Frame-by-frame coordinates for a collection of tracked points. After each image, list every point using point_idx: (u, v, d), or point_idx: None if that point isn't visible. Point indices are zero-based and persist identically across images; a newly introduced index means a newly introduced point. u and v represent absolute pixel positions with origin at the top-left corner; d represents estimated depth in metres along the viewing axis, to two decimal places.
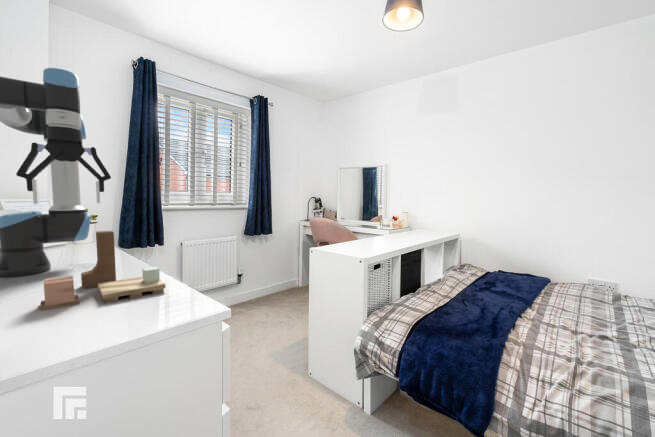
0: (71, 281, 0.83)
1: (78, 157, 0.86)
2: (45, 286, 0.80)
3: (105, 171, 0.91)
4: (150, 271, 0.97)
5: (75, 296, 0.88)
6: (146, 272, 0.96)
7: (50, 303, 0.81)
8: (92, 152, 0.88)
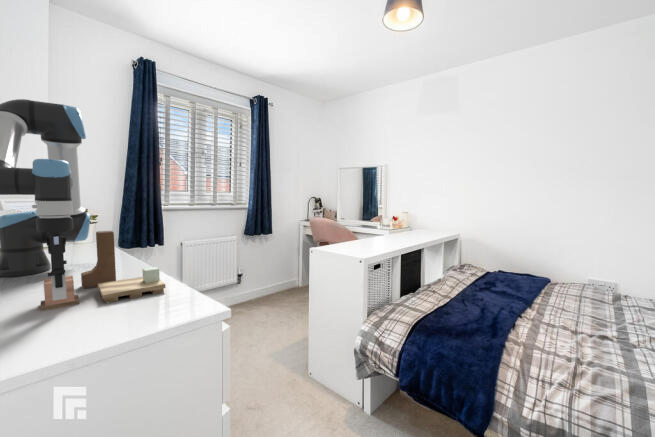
0: (71, 281, 0.83)
1: (48, 248, 0.80)
2: (45, 286, 0.80)
3: (51, 265, 0.76)
4: (150, 271, 0.97)
5: (75, 296, 0.88)
6: (146, 272, 0.96)
7: (50, 303, 0.81)
8: (50, 243, 0.78)
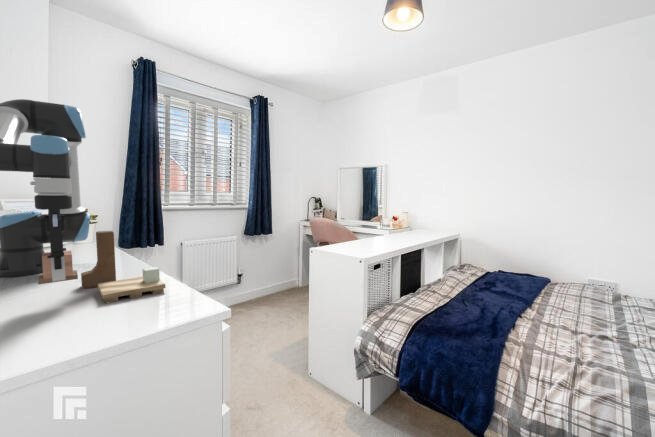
0: (69, 255, 0.83)
1: (46, 227, 0.80)
2: (43, 259, 0.80)
3: None
4: (150, 271, 0.97)
5: (73, 271, 0.88)
6: (146, 272, 0.96)
7: (48, 276, 0.81)
8: (49, 224, 0.78)
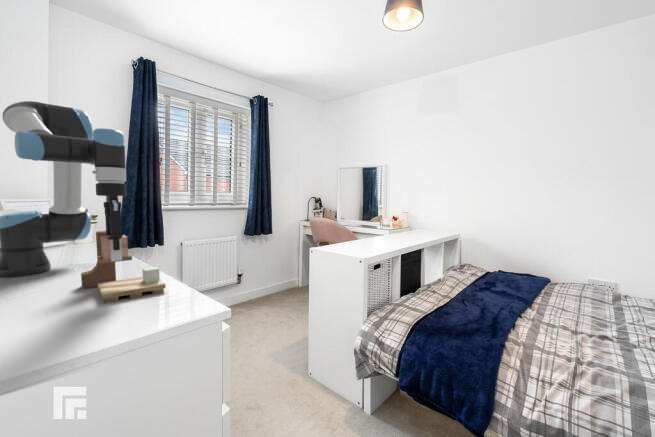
0: (125, 238, 0.91)
1: (106, 211, 0.88)
2: (104, 241, 0.88)
3: (111, 229, 0.86)
4: (150, 271, 0.97)
5: None
6: (146, 272, 0.96)
7: (107, 257, 0.89)
8: (110, 208, 0.86)
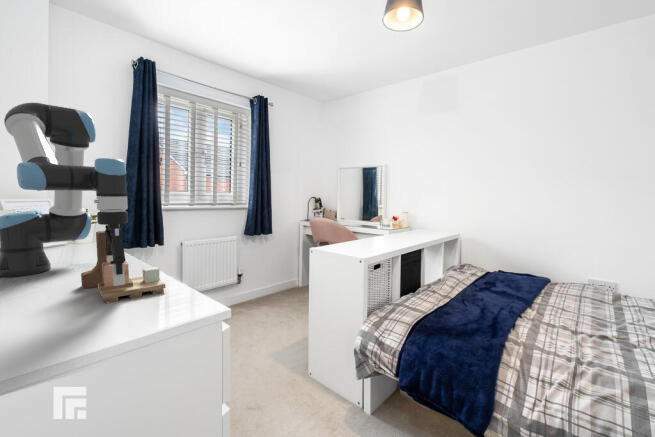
0: (126, 265, 0.92)
1: (108, 239, 0.89)
2: (105, 268, 0.88)
3: (113, 254, 0.85)
4: (150, 271, 0.97)
5: None
6: (146, 272, 0.96)
7: (109, 284, 0.89)
8: (111, 234, 0.86)
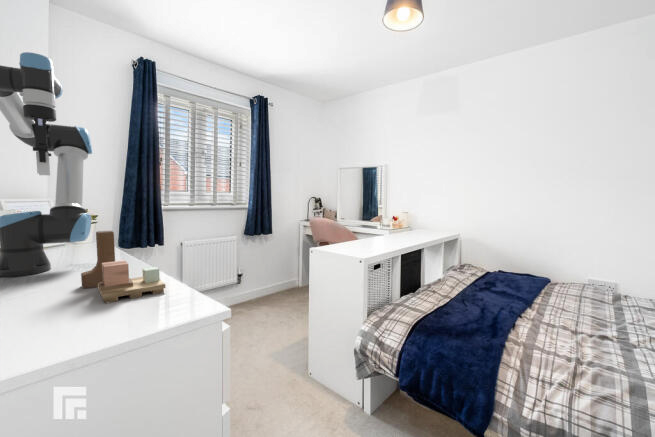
0: (126, 265, 0.92)
1: None
2: (105, 268, 0.88)
3: (35, 140, 0.89)
4: (150, 271, 0.97)
5: None
6: (146, 272, 0.96)
7: (109, 284, 0.89)
8: (34, 123, 0.91)
